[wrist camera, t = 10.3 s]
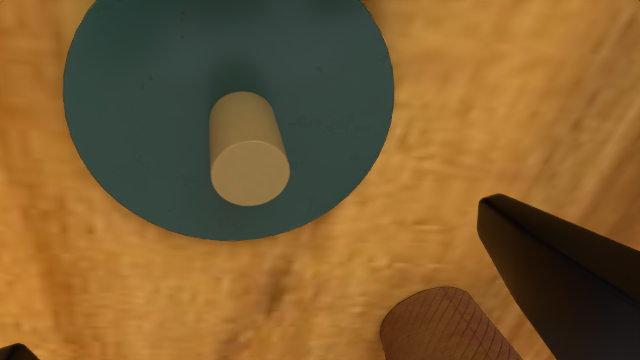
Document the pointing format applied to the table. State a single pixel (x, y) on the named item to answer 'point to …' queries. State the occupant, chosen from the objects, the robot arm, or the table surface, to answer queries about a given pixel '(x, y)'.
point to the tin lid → (228, 109)
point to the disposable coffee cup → (442, 329)
